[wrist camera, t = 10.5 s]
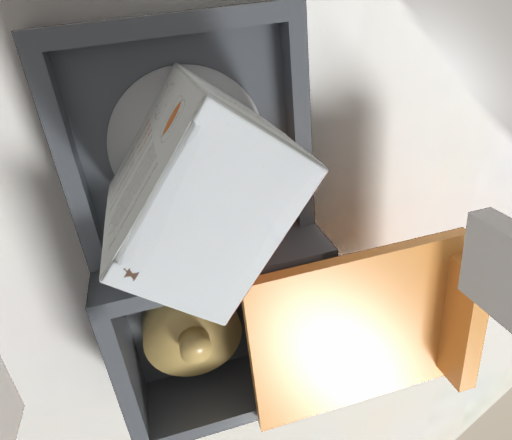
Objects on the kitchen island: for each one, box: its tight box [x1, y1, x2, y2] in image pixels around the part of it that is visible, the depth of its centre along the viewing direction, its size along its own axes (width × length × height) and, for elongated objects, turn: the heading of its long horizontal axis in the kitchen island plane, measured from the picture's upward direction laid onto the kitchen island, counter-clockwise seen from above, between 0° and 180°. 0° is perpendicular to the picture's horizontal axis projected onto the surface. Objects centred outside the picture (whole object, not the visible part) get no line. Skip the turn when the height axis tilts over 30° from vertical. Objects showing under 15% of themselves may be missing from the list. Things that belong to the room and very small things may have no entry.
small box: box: [99, 63, 329, 326], centre depth 20 cm, size 8×6×10 cm
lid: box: [241, 227, 489, 432], centre depth 26 cm, size 14×12×3 cm
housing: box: [11, 0, 338, 440], centre depth 26 cm, size 14×25×6 cm, turn 6°
